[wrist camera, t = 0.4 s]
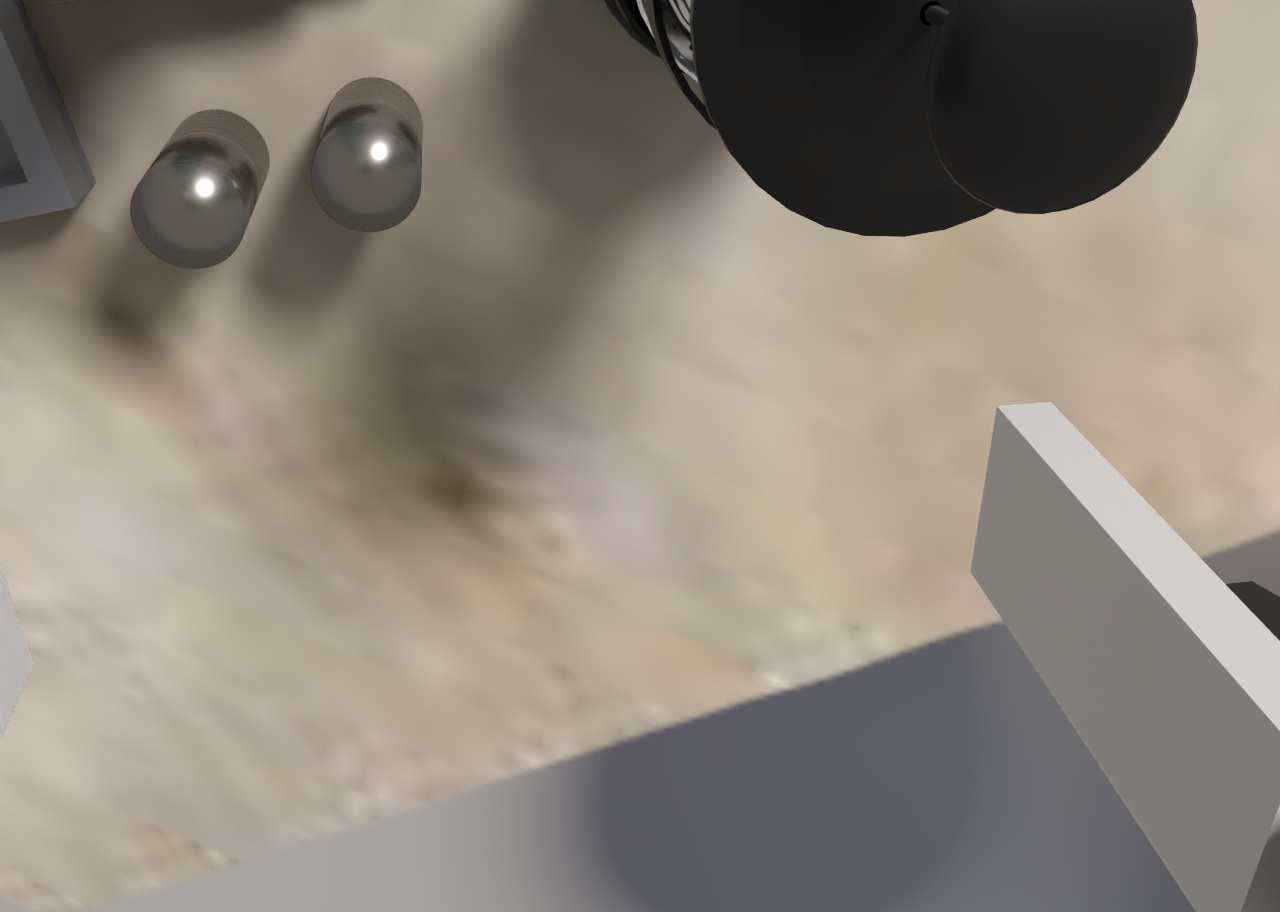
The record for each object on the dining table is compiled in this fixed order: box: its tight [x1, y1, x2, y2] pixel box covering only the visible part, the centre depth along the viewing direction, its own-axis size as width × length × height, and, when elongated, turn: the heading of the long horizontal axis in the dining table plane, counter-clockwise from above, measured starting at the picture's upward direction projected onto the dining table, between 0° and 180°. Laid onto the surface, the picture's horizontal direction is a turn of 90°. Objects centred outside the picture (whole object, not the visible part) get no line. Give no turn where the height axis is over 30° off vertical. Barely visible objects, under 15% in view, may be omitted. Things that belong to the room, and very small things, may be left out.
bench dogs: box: [130, 78, 423, 269], centre depth 36 cm, size 3×8×6 cm, turn 100°
